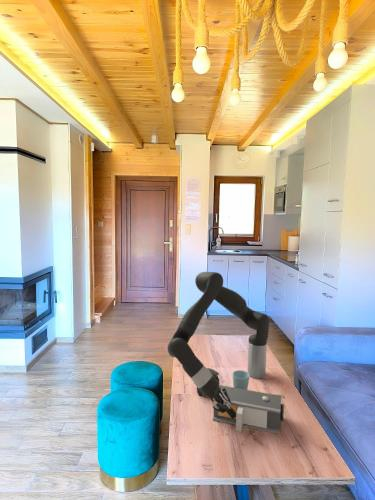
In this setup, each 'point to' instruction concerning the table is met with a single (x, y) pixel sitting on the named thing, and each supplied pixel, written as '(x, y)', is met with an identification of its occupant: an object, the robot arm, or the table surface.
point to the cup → (240, 379)
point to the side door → (250, 417)
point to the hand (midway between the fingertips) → (235, 416)
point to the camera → (213, 375)
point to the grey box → (256, 401)
